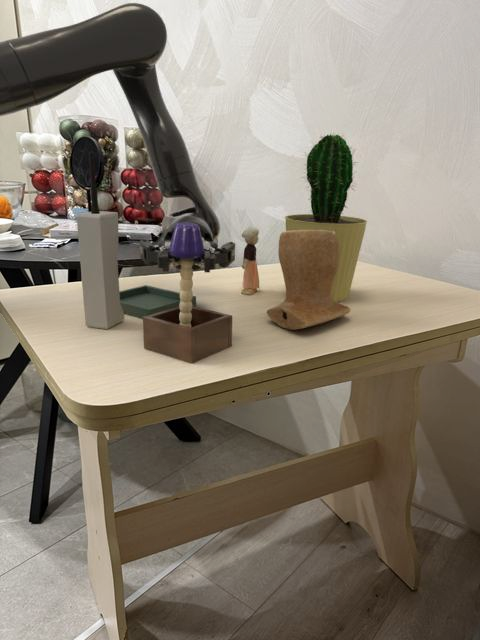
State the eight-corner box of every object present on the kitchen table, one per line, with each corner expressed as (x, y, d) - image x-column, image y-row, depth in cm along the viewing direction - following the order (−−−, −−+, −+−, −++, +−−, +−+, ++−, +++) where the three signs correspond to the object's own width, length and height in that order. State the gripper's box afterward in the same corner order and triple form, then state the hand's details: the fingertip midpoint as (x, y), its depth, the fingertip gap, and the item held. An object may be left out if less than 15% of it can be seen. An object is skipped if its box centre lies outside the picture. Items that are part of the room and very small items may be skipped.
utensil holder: (124, 320, 82) (115, 152, 74) (107, 330, 78) (95, 151, 69) (103, 318, 83) (91, 151, 74) (85, 327, 79) (70, 150, 70)
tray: (97, 306, 89) (97, 296, 89) (146, 294, 98) (145, 284, 98) (149, 320, 83) (149, 309, 82) (196, 306, 92) (196, 296, 91)
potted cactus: (325, 282, 113) (337, 133, 103) (375, 299, 101) (395, 132, 90) (265, 289, 105) (272, 128, 95) (312, 309, 93) (326, 127, 83)
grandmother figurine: (258, 296, 100) (261, 229, 96) (238, 295, 100) (240, 228, 96) (259, 287, 107) (262, 224, 103) (241, 286, 107) (242, 223, 103)
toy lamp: (205, 340, 75) (205, 221, 69) (204, 352, 70) (204, 226, 64) (171, 339, 74) (168, 220, 68) (168, 351, 70) (165, 225, 64)
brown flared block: (302, 304, 96) (308, 221, 90) (358, 318, 88) (368, 229, 83) (246, 321, 85) (249, 227, 80) (305, 338, 78) (312, 237, 72)
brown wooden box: (143, 348, 71) (142, 317, 70) (185, 333, 78) (185, 304, 76) (191, 363, 67) (191, 330, 65) (232, 345, 74) (232, 315, 72)
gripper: (141, 215, 79) (127, 232, 63) (235, 218, 81) (244, 235, 65) (143, 264, 82) (129, 292, 66) (234, 266, 84) (242, 293, 68)
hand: (186, 264), depth 66 cm, fingers closed on toy lamp, 4 cm apart
